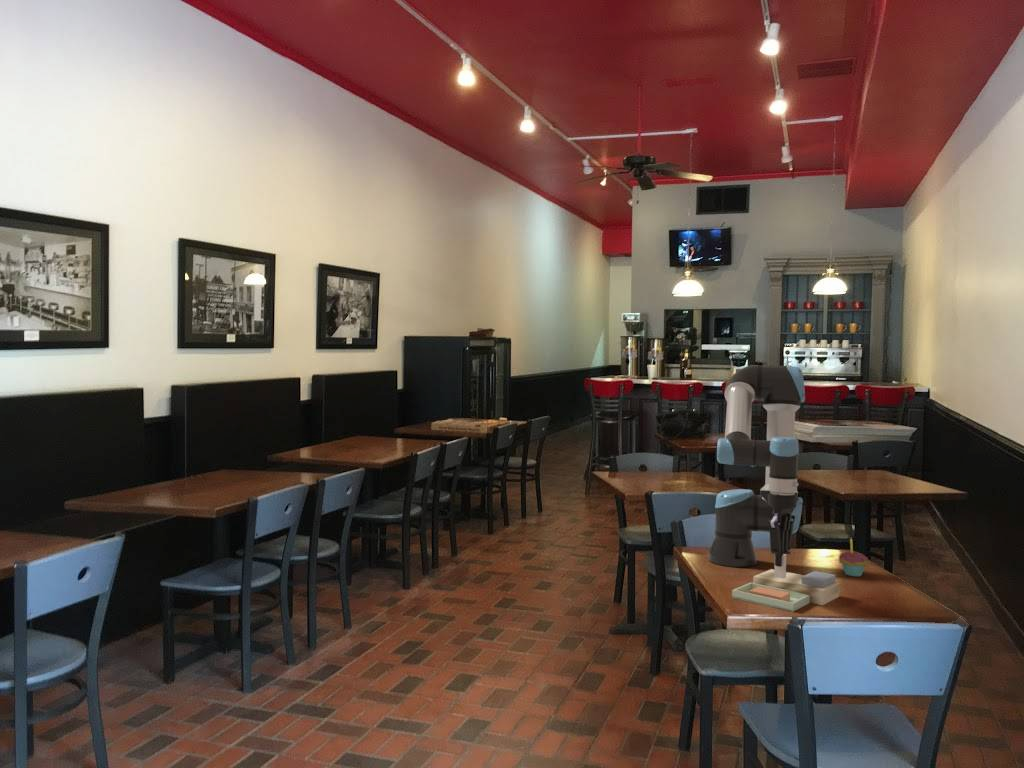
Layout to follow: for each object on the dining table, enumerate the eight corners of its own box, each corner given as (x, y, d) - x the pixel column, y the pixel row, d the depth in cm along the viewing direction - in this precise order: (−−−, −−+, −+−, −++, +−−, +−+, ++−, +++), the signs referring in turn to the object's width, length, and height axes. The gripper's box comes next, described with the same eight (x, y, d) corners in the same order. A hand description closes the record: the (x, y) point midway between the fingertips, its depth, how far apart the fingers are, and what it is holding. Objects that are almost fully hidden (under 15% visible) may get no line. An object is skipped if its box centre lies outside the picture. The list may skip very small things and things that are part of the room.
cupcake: (859, 579, 250) (860, 540, 249) (832, 573, 256) (834, 535, 256) (873, 575, 255) (874, 536, 255) (847, 569, 262) (848, 531, 262)
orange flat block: (758, 586, 230) (758, 593, 230) (749, 590, 226) (749, 597, 226) (790, 592, 224) (790, 600, 224) (781, 597, 220) (780, 604, 220)
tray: (732, 598, 227) (732, 590, 227) (750, 590, 235) (750, 582, 235) (792, 611, 216) (793, 603, 216) (809, 603, 224) (809, 595, 224)
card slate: (823, 588, 224) (823, 580, 224) (801, 583, 228) (801, 576, 228) (835, 582, 231) (835, 574, 231) (814, 577, 235) (814, 570, 235)
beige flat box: (752, 590, 235) (753, 576, 235) (771, 582, 244) (771, 568, 244) (822, 605, 222) (823, 590, 222) (839, 596, 231) (839, 582, 231)
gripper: (785, 497, 221) (783, 584, 222) (805, 492, 231) (802, 575, 232) (759, 493, 226) (756, 578, 227) (779, 488, 236) (776, 570, 237)
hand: (779, 577), depth 229 cm, fingers closed
